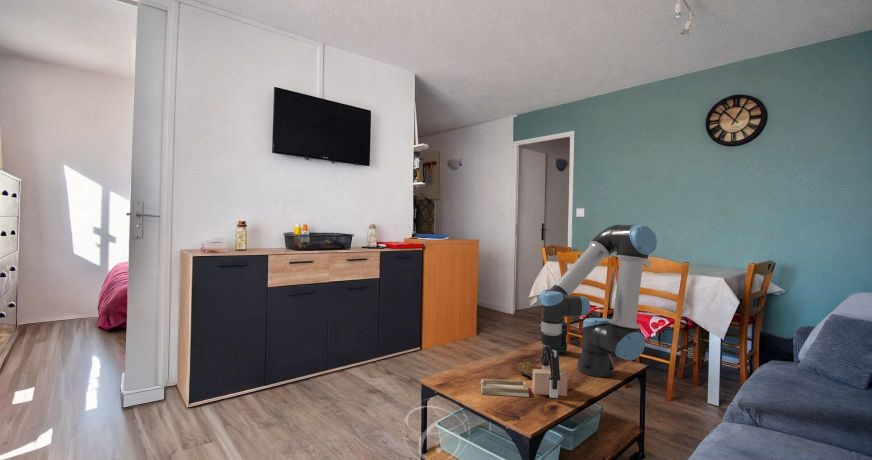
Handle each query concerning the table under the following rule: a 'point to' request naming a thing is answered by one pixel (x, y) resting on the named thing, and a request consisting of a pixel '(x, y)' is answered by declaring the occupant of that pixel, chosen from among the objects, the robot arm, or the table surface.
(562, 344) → the storage jar
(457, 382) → the table surface
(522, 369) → the decorative rock
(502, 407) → the table surface
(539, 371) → the clay block
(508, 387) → the cream rectangular tray
